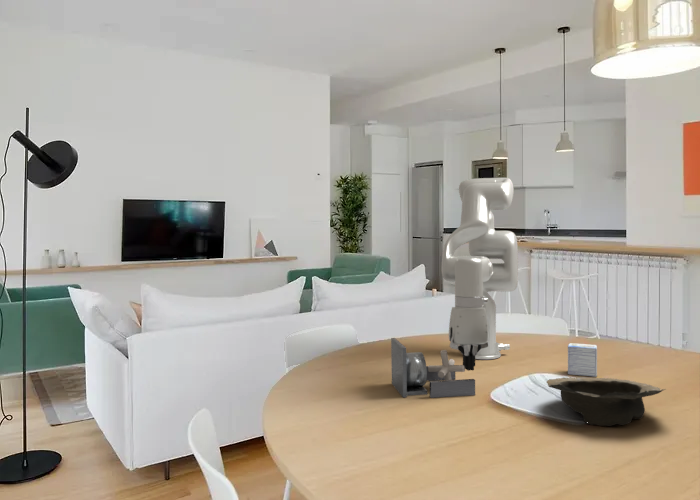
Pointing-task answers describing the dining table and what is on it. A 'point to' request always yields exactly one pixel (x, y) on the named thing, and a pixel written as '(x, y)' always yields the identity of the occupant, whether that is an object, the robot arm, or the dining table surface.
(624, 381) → the stone bowl
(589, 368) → the medicine box
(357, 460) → the dining table surface
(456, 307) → the robot arm
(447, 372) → the pipe connector
